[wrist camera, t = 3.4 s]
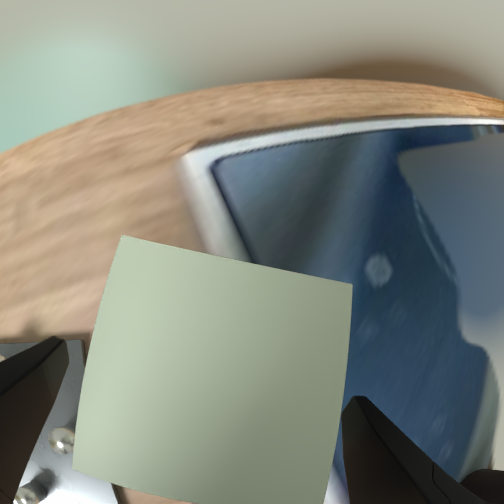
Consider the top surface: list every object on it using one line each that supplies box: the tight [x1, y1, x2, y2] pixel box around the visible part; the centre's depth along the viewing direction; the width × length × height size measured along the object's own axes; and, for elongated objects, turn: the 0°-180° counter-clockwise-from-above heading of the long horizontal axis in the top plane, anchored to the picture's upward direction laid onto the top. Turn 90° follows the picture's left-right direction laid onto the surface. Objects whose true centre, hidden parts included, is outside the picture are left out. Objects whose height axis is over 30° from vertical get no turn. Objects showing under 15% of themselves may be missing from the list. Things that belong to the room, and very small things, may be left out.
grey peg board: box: [0, 339, 121, 504], centre depth 10 cm, size 11×11×3 cm
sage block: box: [72, 235, 352, 504], centre depth 10 cm, size 4×4×12 cm
